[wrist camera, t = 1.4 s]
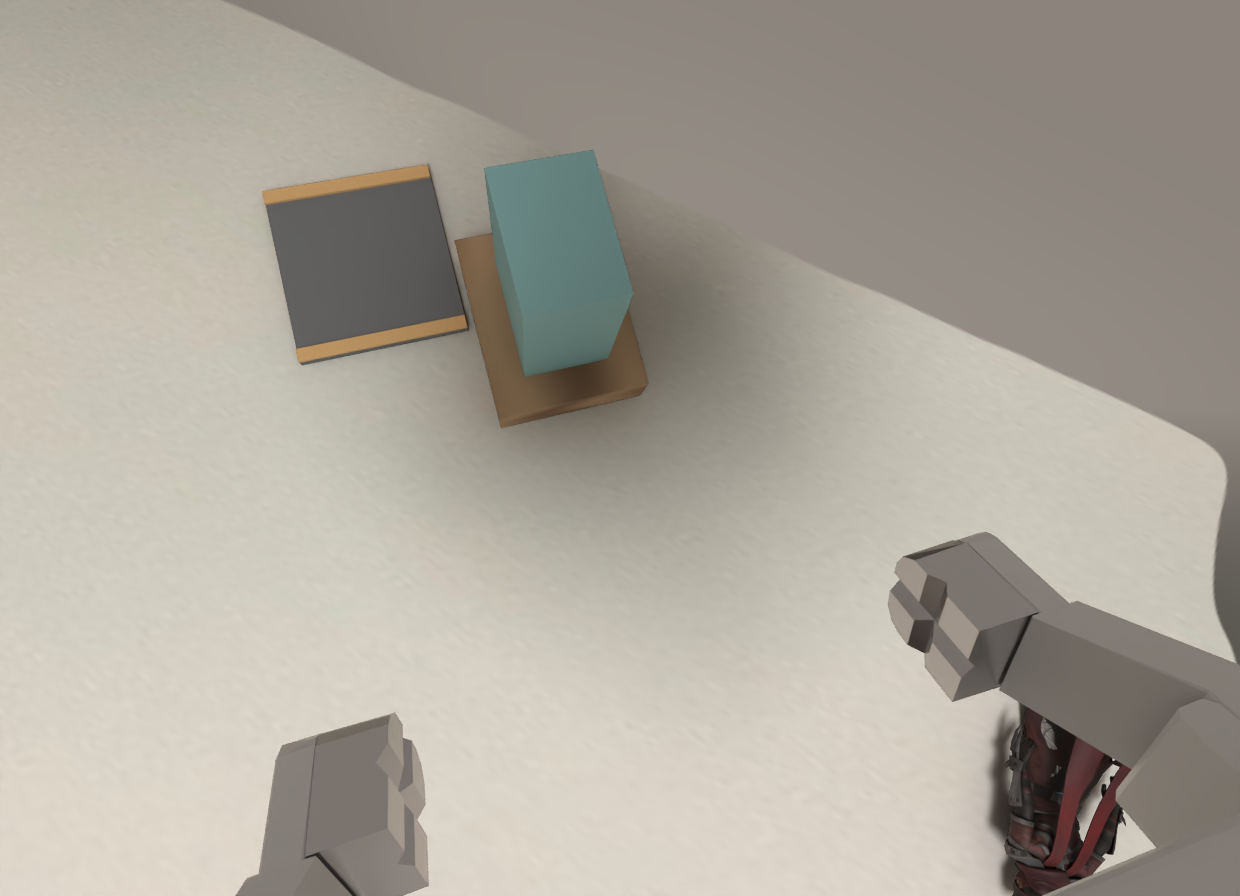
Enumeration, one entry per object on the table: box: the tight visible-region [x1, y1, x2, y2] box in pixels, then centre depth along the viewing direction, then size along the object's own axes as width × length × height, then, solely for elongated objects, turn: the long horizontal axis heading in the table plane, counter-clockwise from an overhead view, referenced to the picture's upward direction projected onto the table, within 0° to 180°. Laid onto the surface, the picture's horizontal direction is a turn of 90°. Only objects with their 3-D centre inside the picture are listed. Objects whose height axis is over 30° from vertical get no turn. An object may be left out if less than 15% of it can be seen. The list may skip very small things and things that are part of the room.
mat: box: [262, 165, 468, 365], centre depth 40 cm, size 10×11×1 cm
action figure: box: [1004, 707, 1132, 896], centre depth 39 cm, size 8×6×18 cm
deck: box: [454, 234, 648, 428], centre depth 40 cm, size 9×11×3 cm
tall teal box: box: [484, 150, 634, 377], centre depth 34 cm, size 5×7×10 cm
